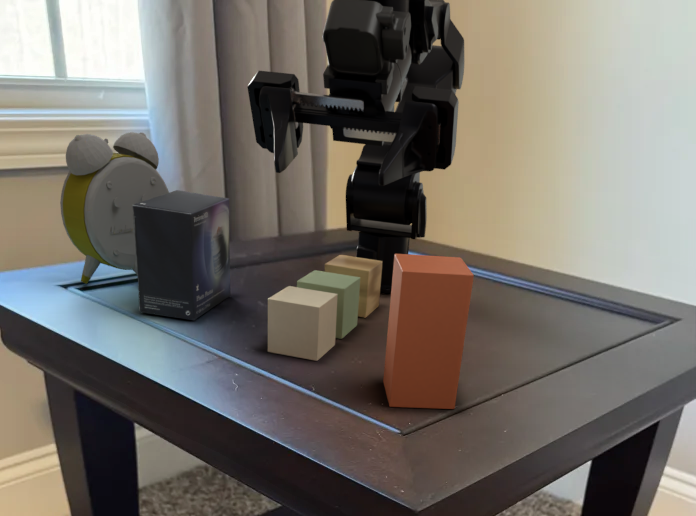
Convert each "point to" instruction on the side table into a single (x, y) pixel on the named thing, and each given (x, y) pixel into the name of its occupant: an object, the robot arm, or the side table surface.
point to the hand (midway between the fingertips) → (328, 173)
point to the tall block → (426, 330)
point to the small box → (182, 253)
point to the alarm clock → (107, 197)
